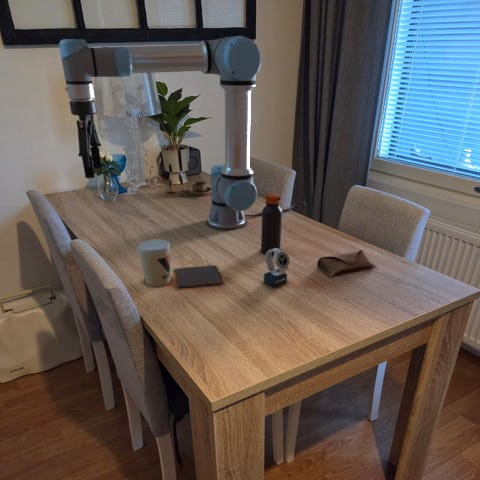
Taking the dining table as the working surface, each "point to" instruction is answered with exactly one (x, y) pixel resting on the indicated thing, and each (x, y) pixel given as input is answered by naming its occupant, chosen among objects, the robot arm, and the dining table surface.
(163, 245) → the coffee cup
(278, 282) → the watch
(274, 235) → the bottle
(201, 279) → the coaster
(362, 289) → the dining table surface
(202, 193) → the place setting
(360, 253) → the sunglasses case
